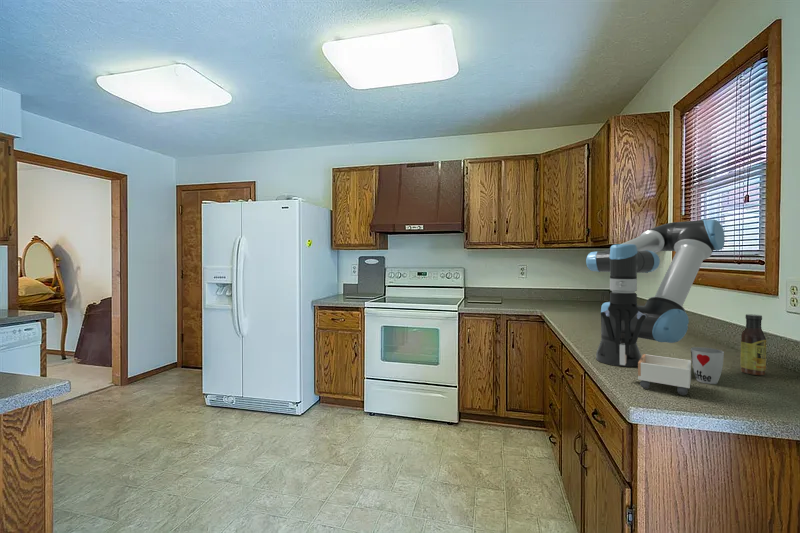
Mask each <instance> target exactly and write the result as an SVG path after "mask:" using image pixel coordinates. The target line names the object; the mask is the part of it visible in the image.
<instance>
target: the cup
mask: <svg viewBox="0 0 800 533" xmlns="http://www.w3.org/2000/svg"><path fill="white" fill-rule="evenodd" d="M724 354H725V352H724V351H723V350H720V349H717V348H710V347H699V346H693V347H691V348H690V356H691V359H690V360H691V366H692V371H693V373H694V377H695V380H696V381H697V382H700V383H704V384H708V385H717V384H718V383H719V380H720V378H721V374H722V370H723V367H724V356H725V355H724Z"/></svg>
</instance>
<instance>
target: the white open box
mask: <svg viewBox="0 0 800 533" xmlns="http://www.w3.org/2000/svg"><path fill="white" fill-rule="evenodd" d="M637 380H639V381H640V382H639V385H640V387H641V388H643V389H648V388H650V385H651V383H657V384H663V385H667V386H674V387H677V389H676V391H677V394H679V395H681V396H686V395H687V394H688V391H689V390H688V389H690V388H691V381H692V359H684V358H683V359H682V358H677V357H669V356H661V355H652V354H647V353H642V354H641V359H640V360H639V362H638V366H637Z"/></svg>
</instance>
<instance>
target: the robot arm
mask: <svg viewBox="0 0 800 533" xmlns="http://www.w3.org/2000/svg"><path fill="white" fill-rule="evenodd" d="M725 238H726V237H725V232H724V229H723V225H722V224H721V223H720V221H718V220H716V219H706V218H705V219H703V220H700V219H699V220H687V221H675V222H674V221H672V222H669V223H668V222H667V223H664V224H661V225H657V226H655V227H653V228H650V229H648V230H645V231H643V232H641V234H640V235H639V236H637V237H634V238H632V239H629V240H628V241H624V242H623V243H621V244H612V245H611V246H610V247H609V248H608V249H605V250H600V251H599V250H596V251H591V252H589V253H588V254H587V256H586V260H585V263H586V266H587V269H588V270H590V271H591V272H598V273H609V291H610V293H609V301H606V302H603V303H602V305H601V309H600V333H601V335H600V343H599V345H598V347H597V349H596V352H595V353H596V354H595V356H596V357H595V358H596V360H597V361H598V362H600V363H602V364H606V365H610V366H617V367H628V368H629V367H630V368H632V367H638V362H639V360H640V359H641V357H642V354H641V352H640V349H639V346H638V344H637V343H638V339H644V340H650V341H655V342H658V343H667V344H668V343H669V344H675V343H677V342H680V341H681V340H682V339H683V338H684V337H685V335H686V334H687V332H688V328H689V326H688V325H689V322H690V319H689V316H688V314H687V313H686V310H685V307H683V306H684V304H685V301H686V299H687V297H688V295H689V292H690V290H691V288H692V286H693V283H694V282H695V279H696V278H697V277H696V276H698V272H699V271H700V267H701V265H702V264H703V261H704V260H707V259H709V258H710V257H711V256H712V253H713V251H716V252H717V251H721V250H723V249H724V247H725V242H726V241H725ZM659 252H675V253H674V256H673V258H672V260H671V262H670V265H669V266H668V268H667V269H666V272H665V274H664V276H663V278H662V281H661V283H660V284H659V287H658V289H657V291H656V293H655V295H654V296H651V297H649V298H648V299H647V300H646V302H645V305H638V294H637V291H638V287H637V286H638V278H637V277H638V274H640V273H643V274H644V273H645V274H648V273H650V272H651V273H652V272H654V271H657V269H658V268H659V266H660V265H661V264H660V263H661V260H660V256H659V255H658V254H657V253H659Z"/></svg>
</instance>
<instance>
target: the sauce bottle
mask: <svg viewBox="0 0 800 533" xmlns="http://www.w3.org/2000/svg"><path fill="white" fill-rule="evenodd" d="M762 320H763V316H762V315H761V314H749V313H747V314H745V321H746V322H745V328H744V330H742V332H741V335H740V336H741V337H740V338H741V339H740V359H739V360H740V362H739V363H740V372H742V373H744V374H747V375H752V376H765V375H766V370H767V337H766V335H765V333H764V331H763V328H762Z"/></svg>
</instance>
